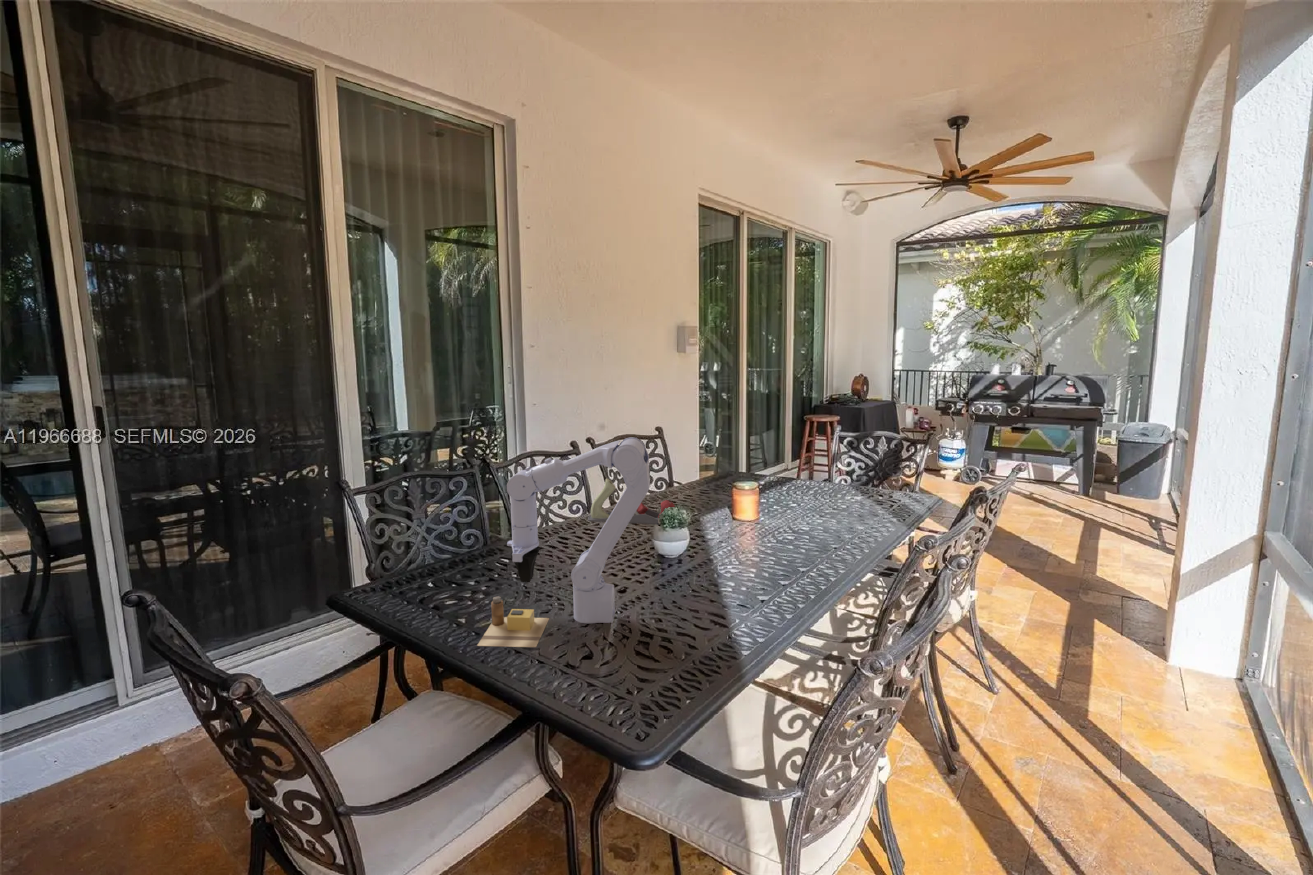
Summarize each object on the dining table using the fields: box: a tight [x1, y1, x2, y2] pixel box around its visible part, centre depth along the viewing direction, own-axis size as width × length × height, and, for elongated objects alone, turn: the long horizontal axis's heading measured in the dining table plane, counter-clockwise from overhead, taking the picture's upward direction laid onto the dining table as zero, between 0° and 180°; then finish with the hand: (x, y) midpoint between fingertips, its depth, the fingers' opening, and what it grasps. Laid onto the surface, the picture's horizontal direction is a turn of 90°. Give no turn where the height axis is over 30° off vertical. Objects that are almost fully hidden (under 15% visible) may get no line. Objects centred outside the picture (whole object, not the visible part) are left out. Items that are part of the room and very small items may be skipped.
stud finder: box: [506, 608, 535, 630], centre depth 136 cm, size 5×4×3 cm
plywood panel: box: [476, 616, 550, 648], centre depth 134 cm, size 12×13×1 cm
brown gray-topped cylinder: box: [490, 595, 505, 626], centre depth 137 cm, size 3×3×6 cm
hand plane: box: [587, 478, 676, 525], centre depth 215 cm, size 7×31×15 cm, turn 82°
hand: (526, 580), depth 141 cm, fingers closed
